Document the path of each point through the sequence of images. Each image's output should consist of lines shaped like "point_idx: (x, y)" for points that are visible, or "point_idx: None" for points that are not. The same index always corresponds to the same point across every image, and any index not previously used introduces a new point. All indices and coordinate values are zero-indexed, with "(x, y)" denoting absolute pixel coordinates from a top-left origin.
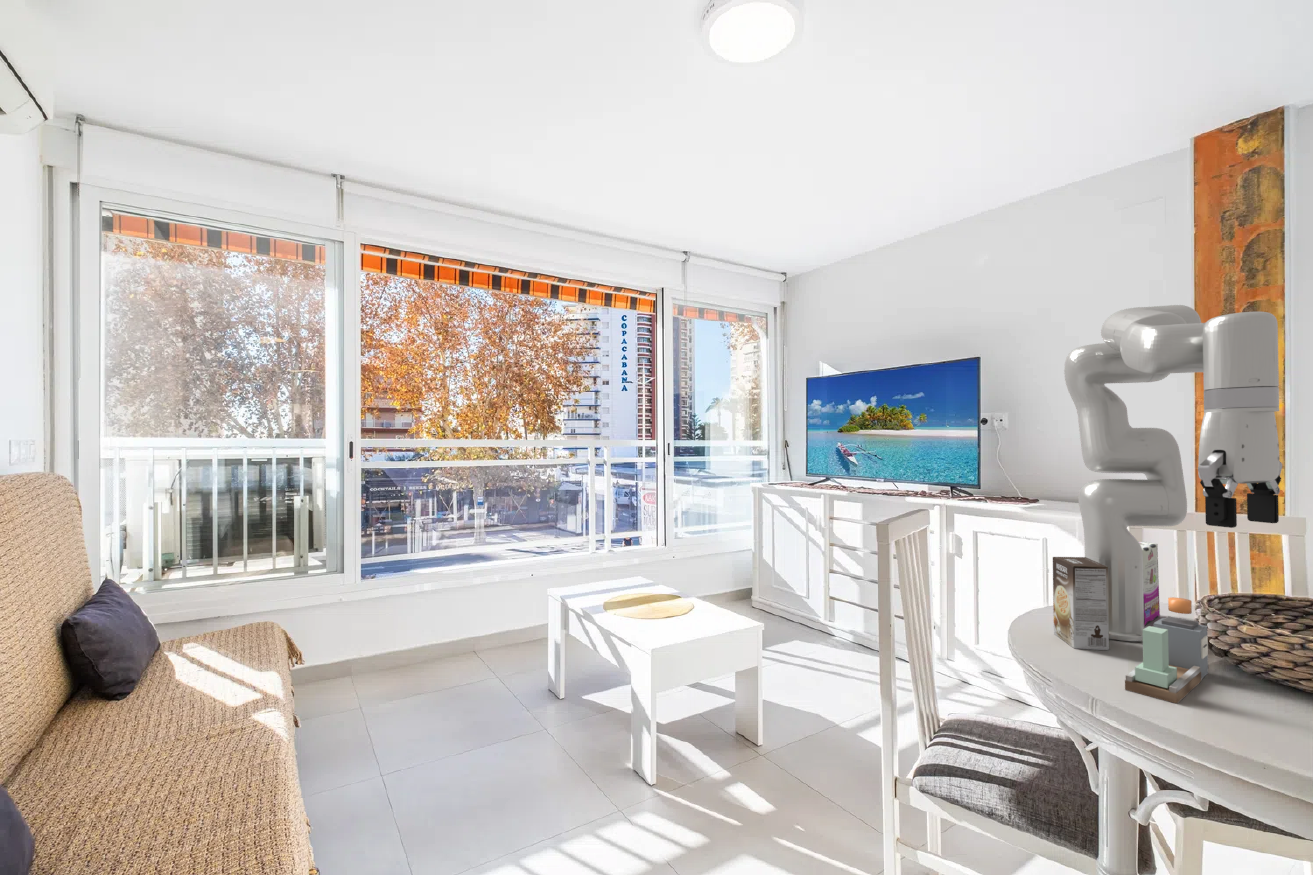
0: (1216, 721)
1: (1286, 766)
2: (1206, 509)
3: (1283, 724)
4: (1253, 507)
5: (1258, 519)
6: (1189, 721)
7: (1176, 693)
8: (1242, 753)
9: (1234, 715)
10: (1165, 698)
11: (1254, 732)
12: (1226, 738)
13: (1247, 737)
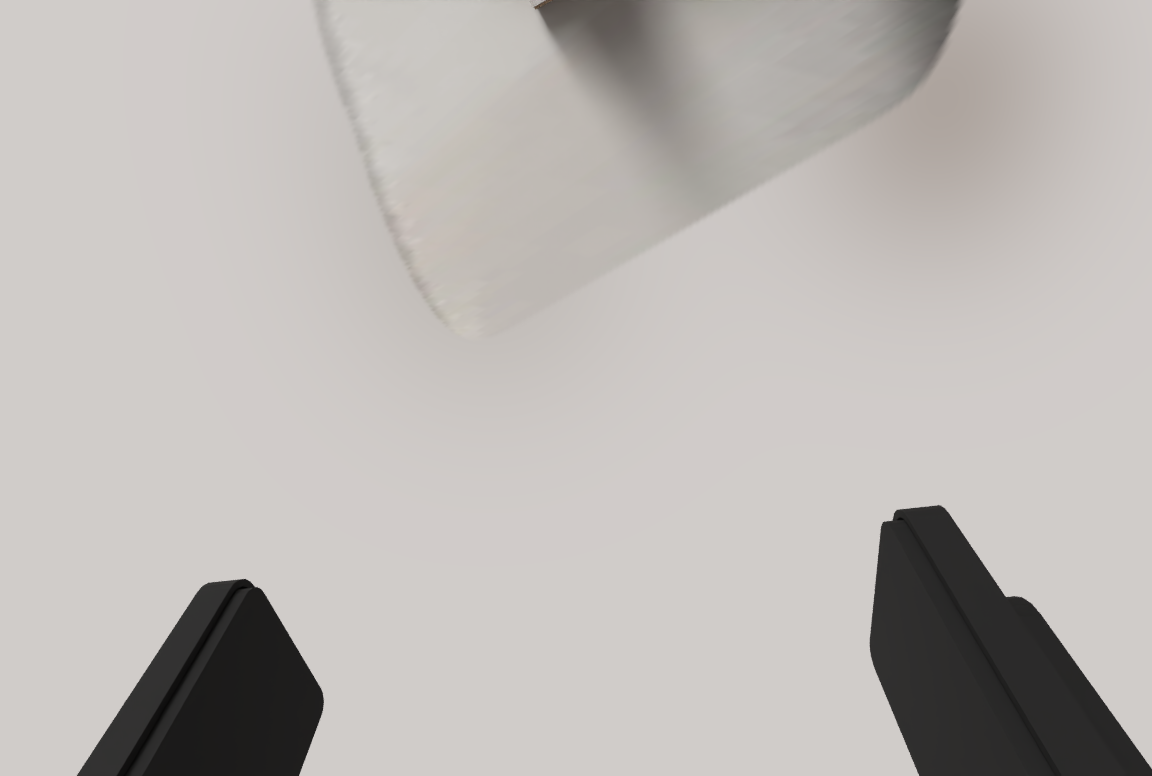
0: (534, 136)
1: (466, 328)
2: (122, 717)
3: (688, 189)
4: (942, 672)
5: (883, 588)
6: (461, 119)
7: (538, 5)
8: (430, 273)
9: (623, 117)
10: None
11: (565, 206)
12: (464, 214)
13: (520, 221)
